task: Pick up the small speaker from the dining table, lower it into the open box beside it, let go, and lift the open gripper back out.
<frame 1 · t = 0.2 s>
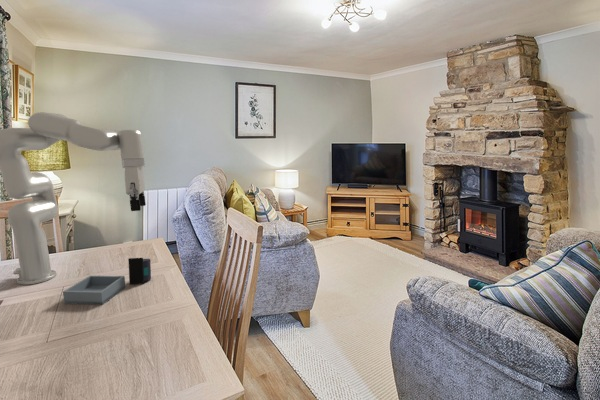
hand: (138, 208, 126), 30 cm above the table, tool pointing down, fingers open, 9 cm apart
speaker: (141, 281, 132), on the table
open box: (96, 295, 120), on the table
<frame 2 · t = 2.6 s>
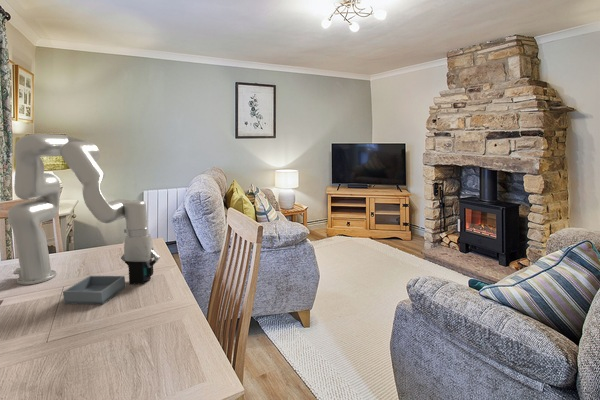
hand: (142, 275, 132), 2 cm above the table, tool pointing down, fingers open, 5 cm apart
speaker: (141, 281, 132), on the table, touching gripper
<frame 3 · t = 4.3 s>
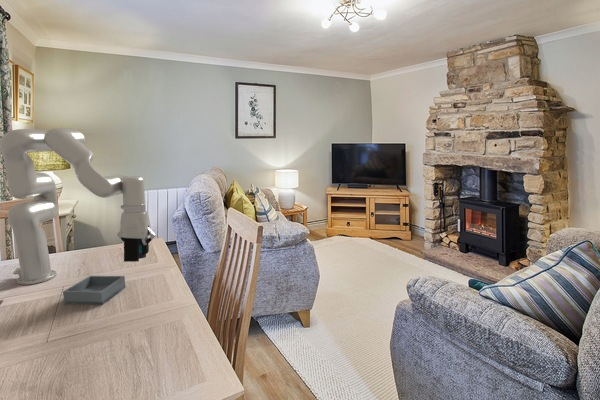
hand: (137, 253, 130), 12 cm above the table, tool pointing down, fingers closed on speaker, 5 cm apart
speaker: (136, 258, 130), point 9 cm above the table, touching gripper
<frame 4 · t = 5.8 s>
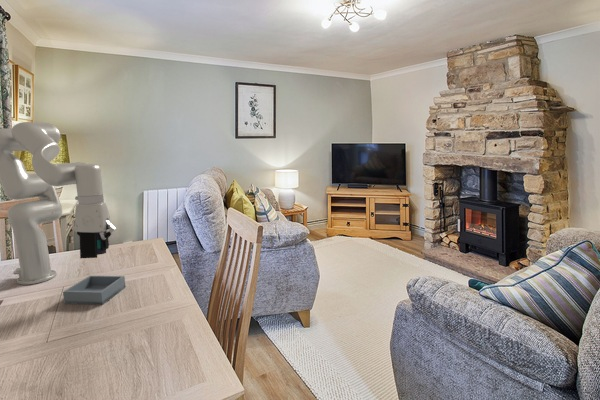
hand: (96, 248, 118), 17 cm above the table, tool pointing down, fingers closed on speaker, 5 cm apart
speaker: (95, 255, 119), point 15 cm above the table, touching gripper
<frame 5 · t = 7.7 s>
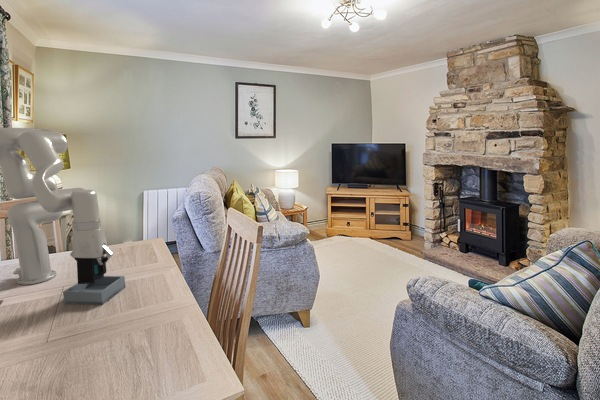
hand: (94, 273, 118), 8 cm above the table, tool pointing down, fingers closed on speaker, 5 cm apart
speaker: (93, 280, 119), point 6 cm above the table, touching gripper
when the fingers open (4 cm above the table, at t = 8.9 s): speaker drops 1 cm, resting on open box.
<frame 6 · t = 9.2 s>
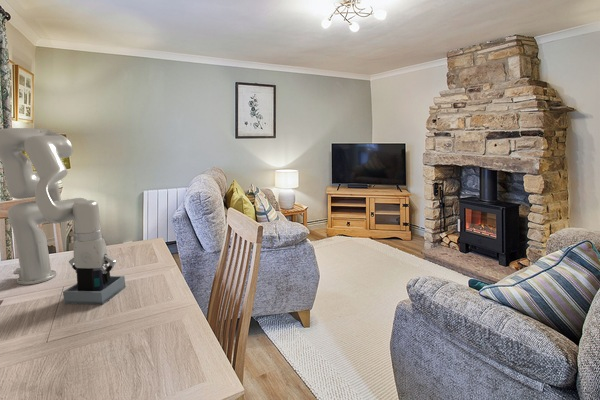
hand: (95, 282, 119), 5 cm above the table, tool pointing down, fingers open, 8 cm apart
speaker: (92, 293, 120), point 1 cm above the table, touching open box
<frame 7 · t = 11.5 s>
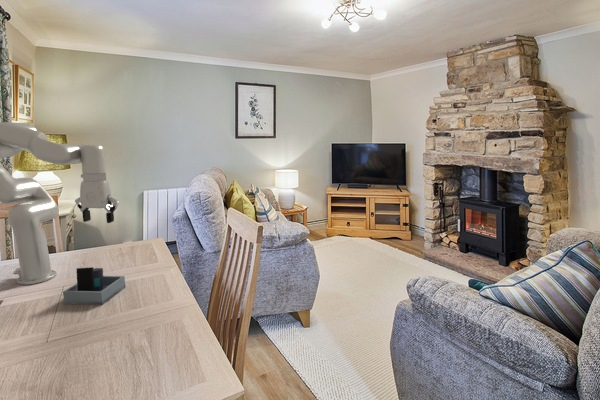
hand: (98, 221, 128), 24 cm above the table, tool pointing down, fingers open, 9 cm apart
nothing on the table moved.
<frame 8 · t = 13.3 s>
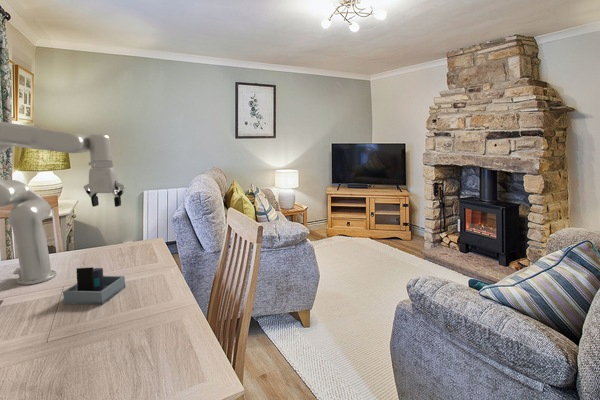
hand: (106, 206, 138), 28 cm above the table, tool pointing down, fingers open, 9 cm apart
nothing on the table moved.
at the end: speaker inside the target area on the open box (1.3 cm from its centre), point 0.8 cm above the open box's base; speaker tilted 0°; the gripper is holding nothing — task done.
